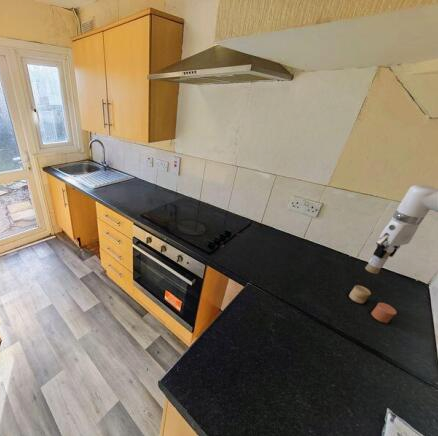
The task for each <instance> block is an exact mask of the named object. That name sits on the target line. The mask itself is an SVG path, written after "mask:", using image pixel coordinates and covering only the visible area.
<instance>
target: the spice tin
mask: <svg viewBox="0 0 438 436" xmlns="http://www.w3.org/2000/svg"><path fill="white" fill-rule="evenodd" d="M371 294H372V292H371V291H370V289H369V288H366V287H365V286H363V285H359V284H357V285H354V287H353V288H352V289H351V291H350V293H349V294H348V296H349V298H350V299H351V300H352V301H353V302H355V303H358V304H365V303H366V302H367V300H368V299H369V297H370V296H371Z"/></svg>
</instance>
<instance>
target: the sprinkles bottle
mask: <svg viewBox="0 0 438 436" xmlns="http://www.w3.org/2000/svg"><path fill="white" fill-rule="evenodd" d="M383 245H385V246H386V244H384V243H383ZM394 249H395V248H394V247H393V246H389V248H388V249H387V250H386V251H387V252H386V254H385V255H384V257H383V258H382V259H380V258H378V257H377V256H375V255H373V254H372V256H371V258H370V259H369V261H368V263H367V264H366V266H365V267H364V268H365V270H366V271H367V272H369V273H371V274H375V275H377V274H379V273H380V270H382V268H383V267H384V265H385V264H386V262H387V261H388V259H389V257H390V254H391V253H392V252H393V251H394Z"/></svg>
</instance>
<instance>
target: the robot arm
mask: <svg viewBox="0 0 438 436" xmlns="http://www.w3.org/2000/svg"><path fill="white" fill-rule="evenodd" d="M430 211H434V212H437V213H438V188H436V187H434V186H430V185H424V184H414V185H411V186H410V187H409V189H408V190H407V191H406V193H405V195H404V197H403V198H402V199H401V201H400V203H399V205H398V206H397V208H396V210H395V211H394V212H393V214H392V216H391V220H390V221H389V222H388V223H387V224H386V226H385V227H384V229H383V230H382V232H381V233H380V235H379V237H378V240H377V241H376V242H375V244H376V248H375V250H374V252H373V254H372V256H373V255H375V256H377V257H378V258H380V259H382V258H383V257H384V255H385V254H386V252H387V251H386V250H387V249H388V248H389V246H393V247H394V248H395V249H394V251H393V252H392V253H391V254H390V256H389V257H390V258H392V257H394V256H395V254H396V253H397V251H398V250H399V249H400V248H401V246H405V245H407V244H410V242H411V240H412V239H413V237H414V236H415V234H416V232H417V231H418V229H419V227H420V225H421V224H422V222H423V220H424V219H425V217H426V216H427V215H428V213H429V212H430ZM383 243H384V244H386V246H385V245H383Z"/></svg>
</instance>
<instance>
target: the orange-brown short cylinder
mask: <svg viewBox="0 0 438 436" xmlns="http://www.w3.org/2000/svg"><path fill="white" fill-rule="evenodd" d="M370 314H371V317H373V318H374V319H375V320H377V321H378V322H381V323H385V324H388V323H390V322H391V320H392V319H393V318H394V317H395V316H396V315H397V310H396V308H394V307H393V306H391V305H390V304H388V303H385V302H378V303H377V304H376V306H374V308H373V309H372V311H371V312H370Z"/></svg>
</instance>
